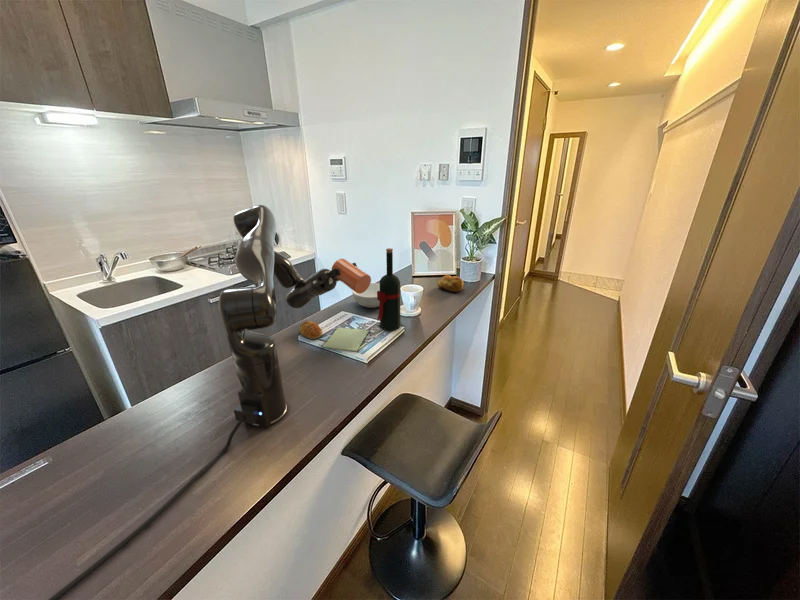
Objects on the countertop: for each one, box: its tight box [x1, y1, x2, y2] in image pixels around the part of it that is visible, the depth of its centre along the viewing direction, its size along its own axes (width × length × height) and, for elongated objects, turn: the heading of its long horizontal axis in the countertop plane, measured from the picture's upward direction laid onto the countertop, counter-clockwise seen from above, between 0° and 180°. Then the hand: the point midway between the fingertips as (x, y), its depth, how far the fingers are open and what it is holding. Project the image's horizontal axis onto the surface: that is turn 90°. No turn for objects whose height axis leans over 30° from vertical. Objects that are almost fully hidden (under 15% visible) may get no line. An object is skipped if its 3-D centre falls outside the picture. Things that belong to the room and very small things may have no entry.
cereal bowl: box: [352, 282, 380, 309], centre depth 141 cm, size 17×17×7 cm
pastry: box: [298, 320, 323, 340], centre depth 117 cm, size 9×7×4 cm
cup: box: [331, 258, 372, 294], centre depth 98 cm, size 6×6×11 cm
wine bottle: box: [377, 247, 401, 332], centre depth 117 cm, size 8×10×30 cm
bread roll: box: [437, 274, 464, 293], centre depth 158 cm, size 13×10×8 cm
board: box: [322, 326, 370, 352], centre depth 115 cm, size 14×12×1 cm
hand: (347, 268), depth 99 cm, fingers closed on cup, 6 cm apart
